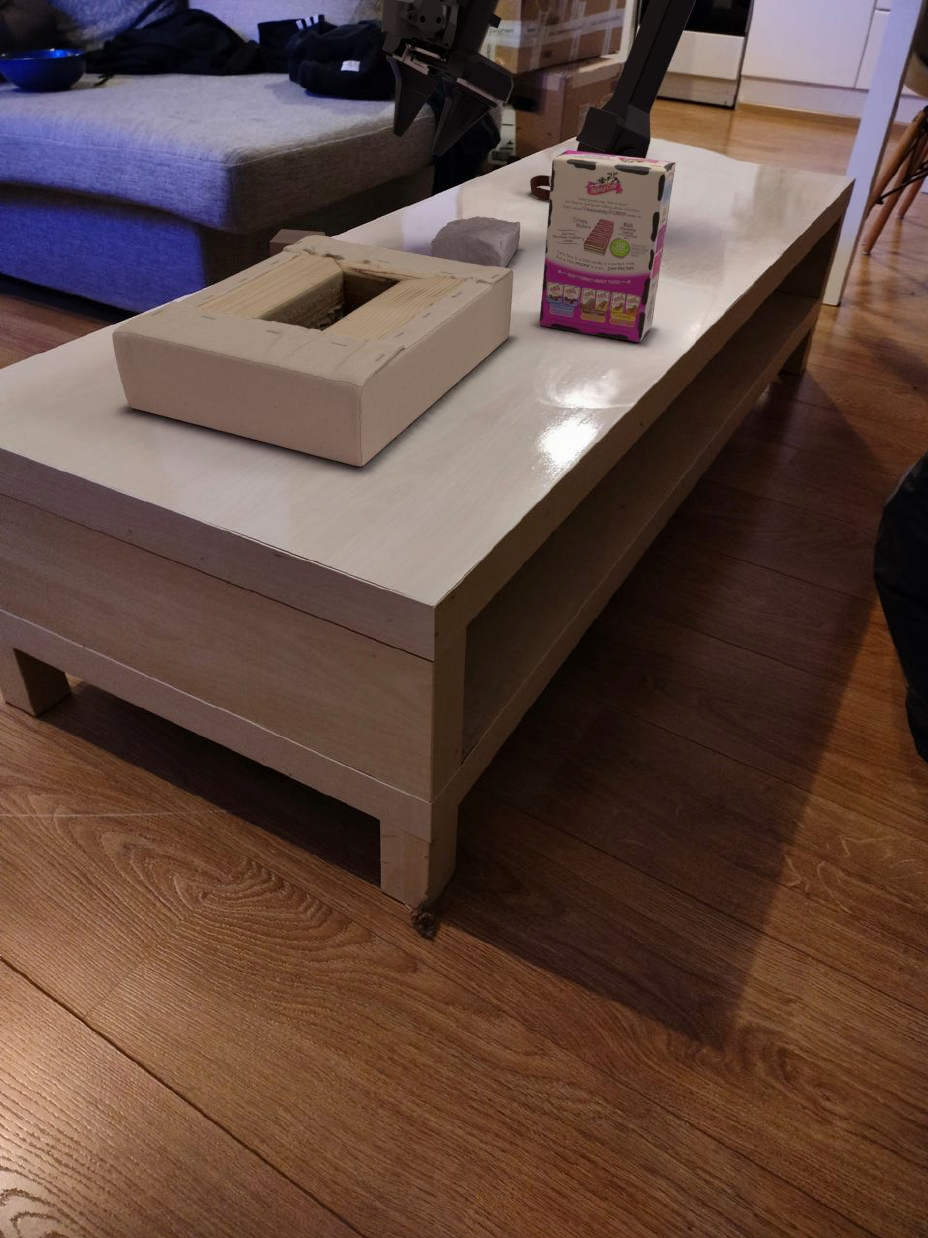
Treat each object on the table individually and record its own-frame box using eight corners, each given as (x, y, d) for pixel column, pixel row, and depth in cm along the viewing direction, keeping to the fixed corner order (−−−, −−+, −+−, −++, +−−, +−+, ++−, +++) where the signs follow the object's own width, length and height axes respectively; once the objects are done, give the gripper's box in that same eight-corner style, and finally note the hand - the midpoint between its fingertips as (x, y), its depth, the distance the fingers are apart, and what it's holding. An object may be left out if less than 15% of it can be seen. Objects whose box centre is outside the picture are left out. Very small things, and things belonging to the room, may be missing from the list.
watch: (582, 200, 143) (584, 174, 140) (563, 206, 140) (565, 179, 137) (540, 190, 146) (543, 164, 144) (521, 195, 144) (523, 169, 141)
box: (313, 299, 106) (121, 409, 82) (310, 225, 101) (105, 320, 77) (511, 340, 99) (365, 474, 75) (518, 264, 95) (364, 380, 71)
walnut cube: (284, 273, 112) (281, 228, 109) (327, 276, 111) (325, 231, 108) (272, 287, 108) (269, 241, 105) (316, 291, 107) (314, 244, 104)
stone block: (428, 282, 116) (509, 273, 114) (421, 241, 114) (504, 231, 111) (449, 257, 126) (525, 248, 123) (443, 218, 123) (520, 208, 120)
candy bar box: (652, 328, 102) (679, 160, 92) (641, 344, 98) (667, 171, 88) (551, 310, 105) (567, 146, 95) (536, 325, 101) (551, 156, 91)
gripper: (370, -57, 102) (318, 97, 108) (458, -39, 89) (394, 135, 95) (452, -6, 109) (399, 136, 115) (544, 18, 96) (480, 176, 102)
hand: (415, 144), depth 107 cm, fingers open, 9 cm apart
